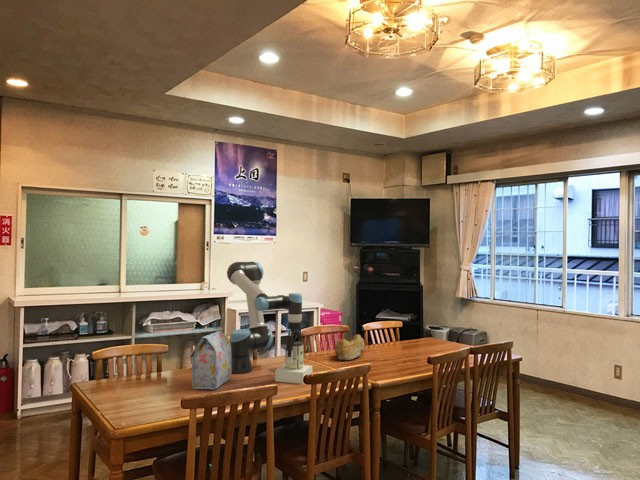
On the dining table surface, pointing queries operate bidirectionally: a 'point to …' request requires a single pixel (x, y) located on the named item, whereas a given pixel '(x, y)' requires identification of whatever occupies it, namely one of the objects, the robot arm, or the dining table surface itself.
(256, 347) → the robot arm
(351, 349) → the rough brown rock
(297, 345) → the coffee can
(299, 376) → the white square box
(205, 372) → the lunch bag
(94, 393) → the dining table surface
